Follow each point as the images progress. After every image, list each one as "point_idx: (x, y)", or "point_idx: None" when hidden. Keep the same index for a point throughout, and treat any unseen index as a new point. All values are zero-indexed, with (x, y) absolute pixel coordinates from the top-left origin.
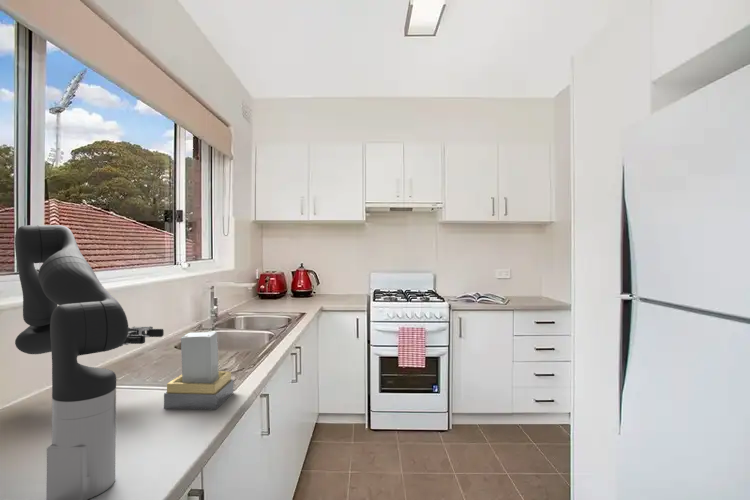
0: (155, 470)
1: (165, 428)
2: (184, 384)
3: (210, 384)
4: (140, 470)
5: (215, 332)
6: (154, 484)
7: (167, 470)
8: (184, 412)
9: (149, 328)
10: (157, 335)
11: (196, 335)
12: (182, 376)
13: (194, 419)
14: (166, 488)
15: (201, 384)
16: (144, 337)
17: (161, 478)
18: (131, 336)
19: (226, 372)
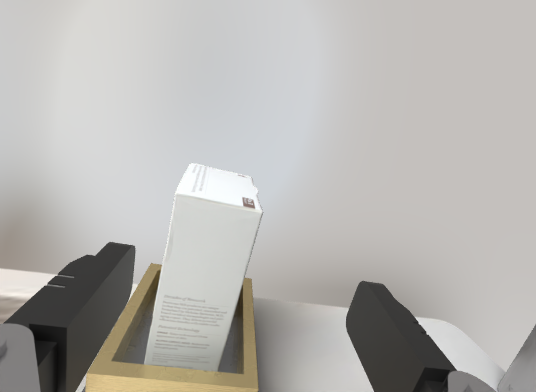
0: (441, 346)
1: (349, 388)
2: (254, 336)
3: (251, 285)
4: (457, 364)
5: (202, 165)
6: (455, 336)
7: (430, 333)
8: (264, 381)
9: (21, 335)
10: (116, 314)
11: (242, 187)
12: (226, 339)
13: (293, 347)
14: (448, 323)
15: (252, 300)
16: (363, 290)
17: (444, 334)
18: (434, 362)
19: (157, 269)
